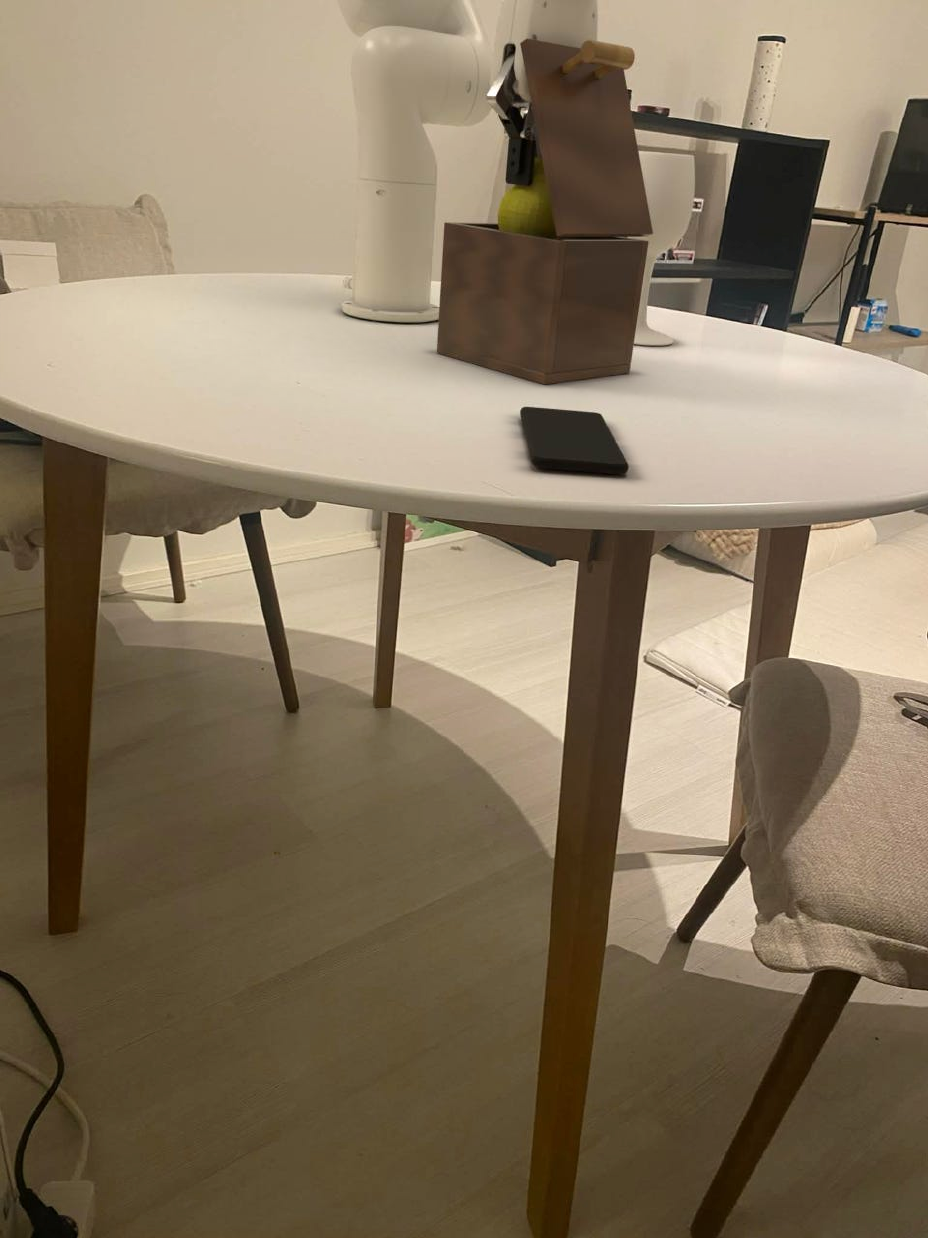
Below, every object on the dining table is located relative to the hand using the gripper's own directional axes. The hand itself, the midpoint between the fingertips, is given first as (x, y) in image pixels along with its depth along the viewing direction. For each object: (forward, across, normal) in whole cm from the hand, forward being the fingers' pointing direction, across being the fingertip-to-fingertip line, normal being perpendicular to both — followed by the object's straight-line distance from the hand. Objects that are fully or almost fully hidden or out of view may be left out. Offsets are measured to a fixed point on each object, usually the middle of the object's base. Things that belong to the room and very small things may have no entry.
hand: (535, 183), depth 97 cm
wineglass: (+17, -24, -3) cm, 30 cm away
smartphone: (+17, +20, +26) cm, 37 cm away
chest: (+17, 0, +2) cm, 17 cm away
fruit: (+7, 0, 0) cm, 7 cm away
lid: (-4, 0, +6) cm, 7 cm away
